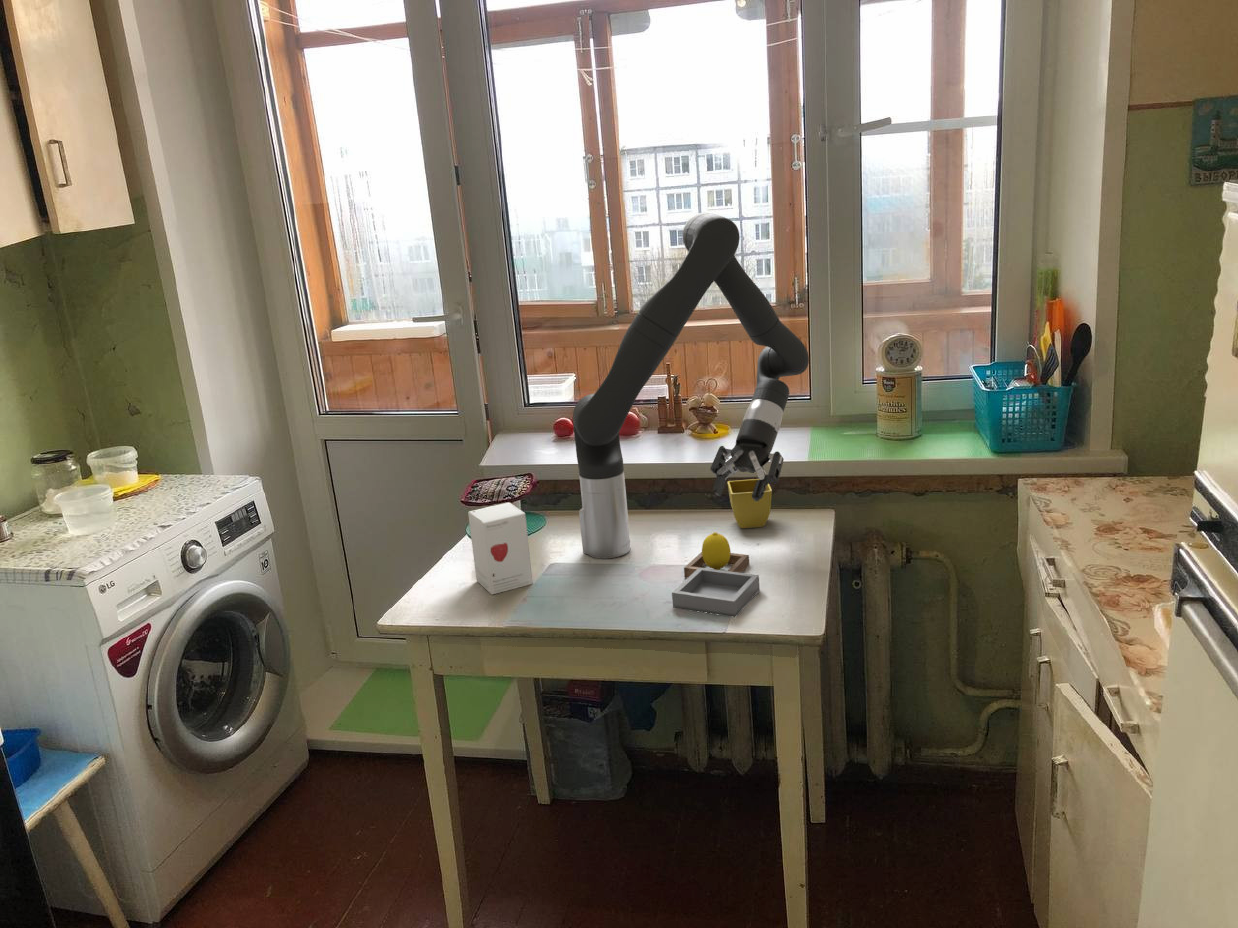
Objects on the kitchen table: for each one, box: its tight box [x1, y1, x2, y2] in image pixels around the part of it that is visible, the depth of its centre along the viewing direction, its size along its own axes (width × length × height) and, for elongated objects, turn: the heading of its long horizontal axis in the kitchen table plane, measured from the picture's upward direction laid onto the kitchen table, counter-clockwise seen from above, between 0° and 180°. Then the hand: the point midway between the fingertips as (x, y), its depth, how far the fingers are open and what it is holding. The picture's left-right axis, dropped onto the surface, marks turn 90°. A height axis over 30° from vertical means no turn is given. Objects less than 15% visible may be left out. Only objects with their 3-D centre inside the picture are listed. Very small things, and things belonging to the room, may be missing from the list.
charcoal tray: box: [671, 567, 760, 618], centre depth 175 cm, size 12×12×3 cm
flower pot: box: [726, 478, 773, 529], centre depth 210 cm, size 9×9×9 cm
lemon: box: [701, 531, 732, 570], centre depth 187 cm, size 6×6×8 cm
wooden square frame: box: [683, 551, 750, 579], centre depth 187 cm, size 10×10×2 cm
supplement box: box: [467, 502, 534, 596], centre depth 189 cm, size 9×9×15 cm
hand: (735, 496), depth 191 cm, fingers open, 8 cm apart
